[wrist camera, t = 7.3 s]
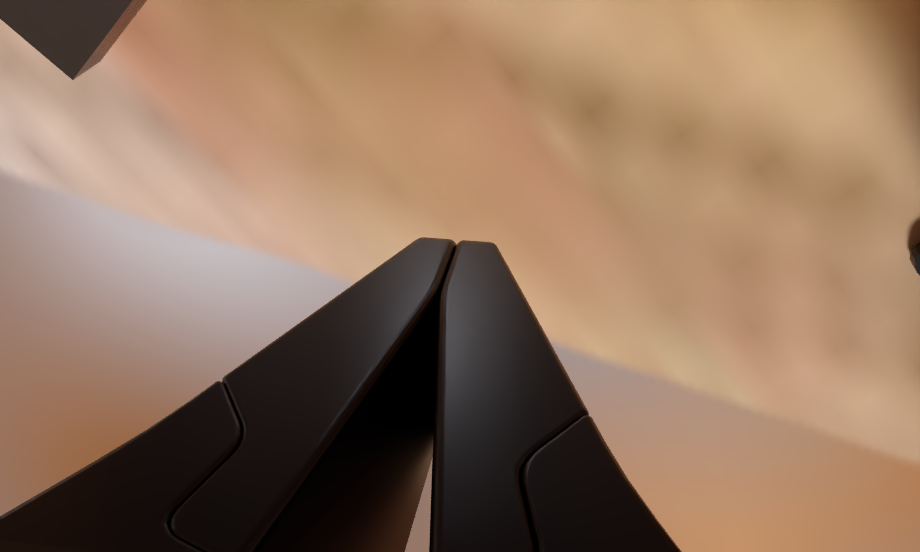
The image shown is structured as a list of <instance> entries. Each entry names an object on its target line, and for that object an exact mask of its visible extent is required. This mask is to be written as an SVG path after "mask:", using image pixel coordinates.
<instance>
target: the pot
mask: <svg viewBox="0 0 920 552" xmlns="http://www.w3.org/2000/svg"><path fill="white" fill-rule="evenodd" d="M146 1H147V0H0V19H1V20H2V21H4V22H5V23H6V24H7V25H8V26H10V27H11V28H12V29H13V30H14V31H15V32H17V33H18V34H19V35H20V36H21V37H23V38H24V39H25V40H26V41H27V42H28V43H30V44H31V45H32V46H33V47H34V48H36V49H37V50H38V51H39V52H40V53H41V54H43V55H44V56H45V57H46V58H47V59H49V60H50V61H51V62H52V63H53V64H54V65H56V66H57V67H58V68H59V69H60V70H62V71H63V72H64V73H65V74H66V75H67V76H69V77H70V78H71V79H72V80H74V79H75V78H77V77H78V76H79V75H81V74H82V73H84V72H85V71H87V70H88V69H90V68H91V67H93V66H94V65H96V64H97V63H98V62H100V61H101V60H102V58H103V57H104V56H105V54H106V53H107V52H108V50H109V49H110V48H111V46H112V45H113V44H114V43H115V41H116V40H117V39H118V37H119V36H120V35H121V33H122V32H123V31H124V29H125V28H126V27H127V25H128V24H129V23H130V22H131V20H132V19H133V18H134V16H135V15H136V14H137V12H138V11H139V10H140V8H141V7H142V6H143V5H144V3H145V2H146Z"/></svg>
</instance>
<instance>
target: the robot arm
mask: <svg viewBox="0 0 920 552" xmlns="http://www.w3.org/2000/svg"><path fill="white" fill-rule="evenodd" d="M910 260H911V263H912V265H913V266H914V268H915V270H916V271H917V273H918V274H919V275H920V242H919V243H918V244H917V245H915V246H914V248H913V249H912V251H911V253H910ZM432 456H433V461H432V462H433V464H432V491H431V493H432V494H431V520H430V548H429V552H681V550H680V549H679V548H678V547H677V545H676V544H675V543H674V541H673V540H672V539H671V537H670V536H669V535H668V533H667V532H666V531H665V529H664V528H663V527H662V526H661V524H660V523H659V522H658V521H657V519H656V518H655V516H654V515H653V514H652V512H651V511H650V509H649V508H648V507H647V505H646V504H645V502H644V501H643V499H642V498H641V497H640V495H639V494H638V493H637V491H636V490H635V488H634V487H633V486H632V484H631V483H630V481H629V480H628V479H627V477H626V475H625V474H624V472H623V470H622V469H621V467H620V465H619V464H618V462H617V461H616V459H615V457H614V456H613V454H612V453H611V451H610V449H609V447H608V446H607V444H606V442H605V441H604V439H603V437H602V435H601V433H600V432H599V430H598V428H597V426H596V424H595V423H594V421H593V419H592V418H591V417H590V416H589V413H588V411H587V409H586V407H585V405H584V403H583V401H582V400H581V398H580V396H579V394H578V392H577V391H576V389H575V387H574V385H573V383H572V382H571V380H570V378H569V376H568V374H567V372H566V371H565V369H564V367H563V365H562V363H561V362H560V360H559V358H558V356H557V354H556V353H555V351H554V349H553V347H552V345H551V343H550V342H549V340H548V338H547V336H546V334H545V333H544V331H543V329H542V327H541V325H540V324H539V322H538V320H537V318H536V316H535V314H534V313H533V311H532V309H531V307H530V305H529V304H528V302H527V300H526V298H525V296H524V295H523V293H522V291H521V289H520V287H519V286H518V284H517V282H516V280H515V278H514V276H513V275H512V273H511V271H510V269H509V267H508V266H507V264H506V262H505V260H504V258H503V257H502V255H501V253H500V251H499V249H498V248H497V246H496V245H495V244H494V243H491V242H479V241H465V240H464V241H460V242H459V243H458V244H457V245H456V243H455V242H454V241H453V240H450V239H437V238H419V239H417V240H415V241H414V242H413V243H411V244H410V245H408V246H407V247H406V248H404V249H403V250H401V251H400V252H399V253H397V254H396V255H394V256H393V257H392V258H390V259H389V260H387V261H386V262H384V263H383V264H382V265H380V266H379V267H377V268H376V269H375V270H373V271H372V272H370V273H369V274H368V275H366V276H365V277H363V278H362V279H361V280H359V281H358V282H356V283H355V284H354V285H352V286H351V287H349V288H348V289H347V290H345V291H344V292H342V293H341V294H340V295H338V296H337V297H335V298H334V299H333V300H331V301H330V302H328V303H327V304H326V305H324V306H323V307H321V308H320V309H318V310H317V311H316V312H314V313H313V314H311V315H310V316H309V317H307V318H306V319H304V320H303V321H302V322H300V323H299V324H297V325H296V326H295V327H293V328H292V329H290V330H289V331H288V332H286V333H285V334H284V335H282V336H281V337H279V338H278V339H276V340H275V341H273V342H272V343H271V344H269V345H268V346H266V347H265V348H264V349H262V350H261V351H260V352H258V353H257V354H255V355H254V356H252V357H251V358H250V359H248V360H247V361H245V362H244V363H243V364H241V365H240V366H238V367H237V368H236V369H234V370H233V371H231V372H230V373H228V374H227V375H226V376H225V377H223V380H222V382H220V381H218V382H215V383H214V384H213V385H211V386H210V387H208V388H207V389H206V390H204V391H203V392H201V393H200V394H198V395H197V396H196V397H194V398H193V399H192V400H190V401H189V402H187V403H186V404H184V405H183V406H181V407H180V408H178V409H177V410H175V411H174V412H172V413H171V414H169V415H168V416H166V417H165V418H163V419H162V420H160V421H159V422H157V423H156V424H154V425H153V426H151V427H150V428H148V429H147V430H145V431H144V432H142V433H140V434H139V435H137V436H135V437H134V438H132V439H130V440H129V441H127V442H126V443H124V444H123V445H121V446H119V447H117V448H116V449H114V450H112V451H111V452H109V453H108V454H106V455H104V456H103V457H101V458H99V459H98V460H96V461H94V462H93V463H91V464H89V465H87V466H86V467H84V468H82V469H81V470H79V471H77V472H75V473H74V474H72V475H70V476H69V477H67V478H65V479H64V480H62V481H60V482H58V483H57V484H55V485H53V486H51V487H50V488H48V489H46V490H45V491H43V492H41V493H39V494H38V495H36V496H34V497H33V498H31V499H29V500H28V501H26V502H24V503H22V504H21V505H19V506H17V507H16V508H14V509H12V510H10V511H9V512H7V513H5V514H4V515H2V516H0V552H405V549H406V545H407V542H408V538H409V535H410V531H411V528H412V524H413V521H414V518H415V514H416V511H417V508H418V504H419V501H420V497H421V494H422V491H423V487H424V484H425V480H426V477H427V473H428V470H429V467H430V463H431V460H432Z"/></svg>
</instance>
